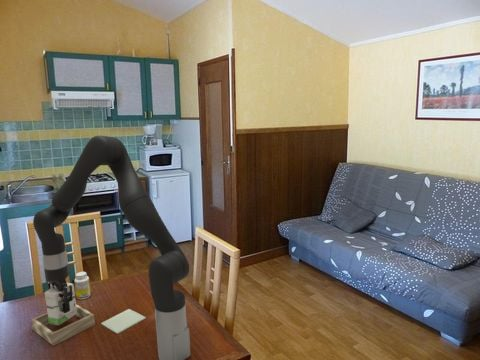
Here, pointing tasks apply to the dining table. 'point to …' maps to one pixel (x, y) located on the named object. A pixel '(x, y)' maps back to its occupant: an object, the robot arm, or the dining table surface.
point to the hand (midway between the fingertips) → (61, 309)
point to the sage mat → (123, 321)
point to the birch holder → (64, 332)
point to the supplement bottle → (82, 285)
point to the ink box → (59, 306)
